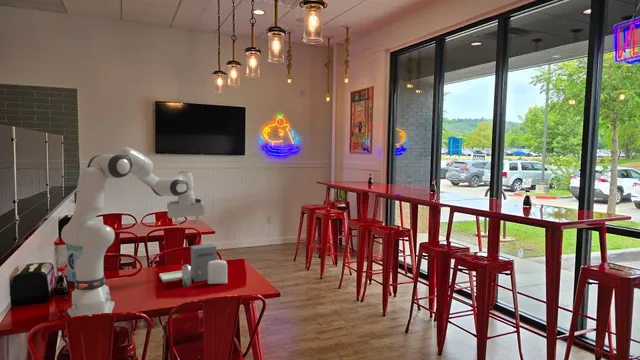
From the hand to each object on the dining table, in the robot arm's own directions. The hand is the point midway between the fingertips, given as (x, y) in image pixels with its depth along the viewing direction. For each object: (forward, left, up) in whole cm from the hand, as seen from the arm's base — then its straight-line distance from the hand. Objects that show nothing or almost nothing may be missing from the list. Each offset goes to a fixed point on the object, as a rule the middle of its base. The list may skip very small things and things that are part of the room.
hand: (186, 224), depth 244 cm
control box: (-12, -6, -29) cm, 32 cm away
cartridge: (-19, +5, -29) cm, 35 cm away
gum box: (+15, +52, -29) cm, 62 cm away
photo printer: (-24, -10, -29) cm, 39 cm away
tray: (-2, +8, -29) cm, 30 cm away
